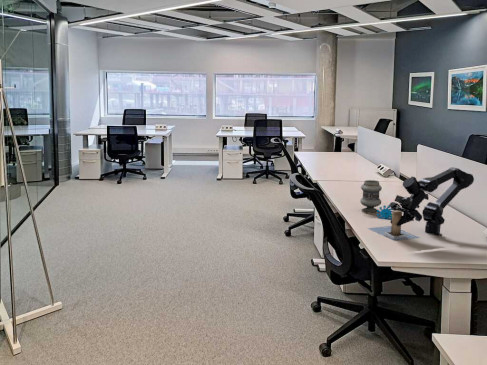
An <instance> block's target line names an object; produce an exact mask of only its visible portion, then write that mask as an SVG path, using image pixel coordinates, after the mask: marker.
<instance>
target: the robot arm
mask: <svg viewBox="0 0 487 365" xmlns="http://www.w3.org/2000/svg"><path fill="white" fill-rule="evenodd" d="M450 180H452V184H451V185H450V186H449V187H447V189H446V190H445V192H443V193H442V195H441V196H439V198H438V199H437V200H436V201H435V202H432V201H431V202H430V201H429V202H427V204H426V205H425V206H423V209H422V214H421V213H420V211H419V210H418V209H419V208H420V207H421V206H420V204H421V203H422V202H423V201H424V200H426V201H428V200H429V193H433V192H435V191H436V190H437V189H438V187H439V186H440V185H442V184H444V183H446V182H447V181H450ZM474 181H475V178H474V175H473V174H472V173H468V172H465V171H464V170H462V169H460V168H457V167H453V166H452V167H449V168H448V169H446V170H444V171H443V172H441V173H438V174H436V175H434V176H431V177H430V176H429V177H424V178H421V179H420V180H417V178H416V177H415V176H410V177H409V178H407V179H405V180H403V182H402V187H403V188H404V189H405V191H406V192H407V193H408V194H409V195H410V196H402V195H398V194H396V196H395V199H394V201H391V202H390V203H389V204H388V205H389V206H390V208H392V209H393V210H392V211H394V210H397V211H402V218H401V219H400V220H399V221H398V223H397V226H400V225H401V226H402V225H404V224H407V223H409V222H412V221H417V222H421V220H422V219H423V221H424V222H425V228H424V233H426V234H428V235H429V234H430V235H431V234H432V235H435V236H443V234H442V233H441V225H444V223H445V221H446V220H445V218H444V217H443V214H444V209H445V208H446V207H447V205H448V204H450V203H451V202H452V200H453V199H454V198H455V197H456V196H457V195H458V193H460V191H462V190H464V189H467V188H469V187H470V186H472V185H473V183H474ZM426 192H427V193H426ZM390 224H391V225H392V219H391V220H390Z"/></svg>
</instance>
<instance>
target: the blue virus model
mask: <svg viewBox="0 0 487 365" xmlns="http://www.w3.org/2000/svg"><path fill="white" fill-rule="evenodd" d="M382 206H383V208H382ZM382 206H380V207H379V206H378V207H379V209H377V213H376V216H377V217H378V219H382V220H386V221H387V220H388V221H389V219H390V221H391V219H392V211H393V209H392V208H391V207H390V206H389V204H388V205H382Z"/></svg>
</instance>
